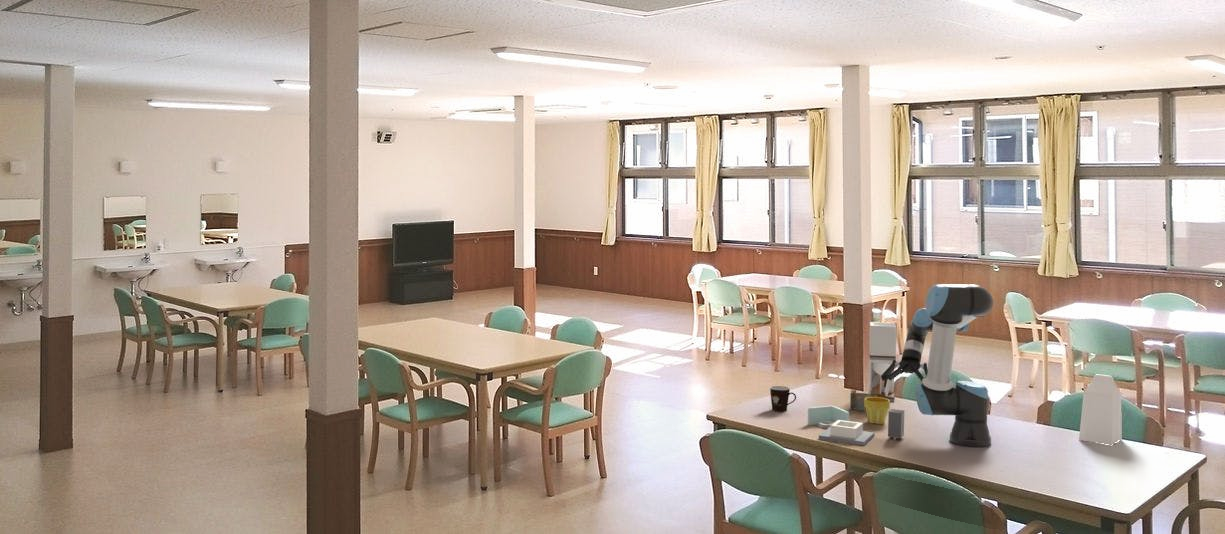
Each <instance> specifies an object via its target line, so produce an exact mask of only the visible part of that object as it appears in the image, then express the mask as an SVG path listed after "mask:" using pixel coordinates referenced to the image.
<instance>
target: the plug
mask: <svg viewBox="0 0 1225 534" xmlns="http://www.w3.org/2000/svg"><path fill="white" fill-rule="evenodd" d="M887 420H888V423H887V424H888V427H887V437H888V438H893V440H895V441H896V440H897V439H902V438H903V437H904V435H905V409H904V410H902V409H895V408H894V409H893V408H891V409H890V410H889V411H888V419H887Z"/></svg>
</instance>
